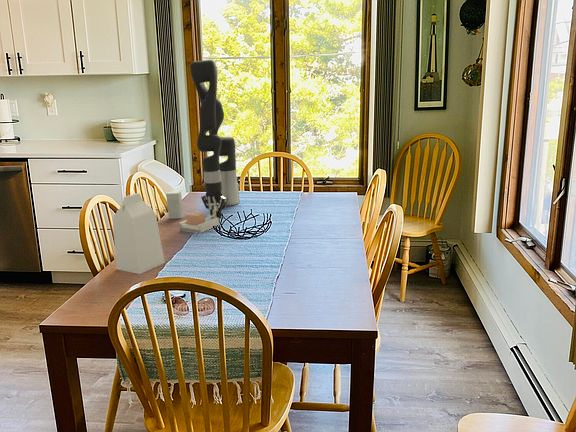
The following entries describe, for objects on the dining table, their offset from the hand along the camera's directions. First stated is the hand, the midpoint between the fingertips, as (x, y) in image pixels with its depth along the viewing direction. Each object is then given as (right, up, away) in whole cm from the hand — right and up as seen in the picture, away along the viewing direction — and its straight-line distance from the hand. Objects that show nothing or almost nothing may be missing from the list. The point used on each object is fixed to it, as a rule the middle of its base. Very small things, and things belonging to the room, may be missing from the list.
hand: (216, 218), depth 252 cm
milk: (-20, -17, -51) cm, 57 cm away
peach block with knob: (-4, -2, -6) cm, 7 cm away
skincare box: (-20, 0, +10) cm, 22 cm away
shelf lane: (-6, -4, -9) cm, 11 cm away
